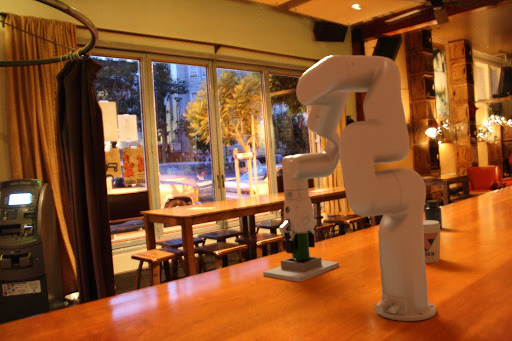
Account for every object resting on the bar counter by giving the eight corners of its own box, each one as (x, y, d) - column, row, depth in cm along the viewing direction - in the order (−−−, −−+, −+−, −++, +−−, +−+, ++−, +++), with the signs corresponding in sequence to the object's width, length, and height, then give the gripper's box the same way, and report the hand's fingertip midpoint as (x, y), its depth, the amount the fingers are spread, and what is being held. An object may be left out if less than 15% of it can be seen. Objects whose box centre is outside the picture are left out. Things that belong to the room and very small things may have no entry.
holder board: (299, 282, 129) (298, 269, 129) (263, 275, 139) (262, 263, 138) (338, 266, 143) (337, 254, 143) (303, 261, 153) (303, 250, 153)
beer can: (300, 270, 137) (297, 231, 137) (289, 267, 141) (286, 229, 141) (314, 266, 140) (311, 228, 140) (302, 264, 144) (300, 226, 144)
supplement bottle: (422, 228, 198) (420, 201, 197) (433, 226, 200) (431, 199, 200) (434, 230, 191) (432, 202, 191) (446, 228, 194) (444, 200, 194)
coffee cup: (408, 262, 141) (406, 224, 141) (413, 256, 150) (411, 219, 149) (440, 264, 137) (438, 224, 137) (443, 257, 145) (441, 219, 145)
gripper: (287, 198, 131) (292, 256, 132) (322, 192, 144) (327, 245, 144) (268, 198, 136) (273, 254, 137) (304, 192, 149) (308, 244, 149)
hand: (300, 250), depth 140 cm, fingers open, 9 cm apart
